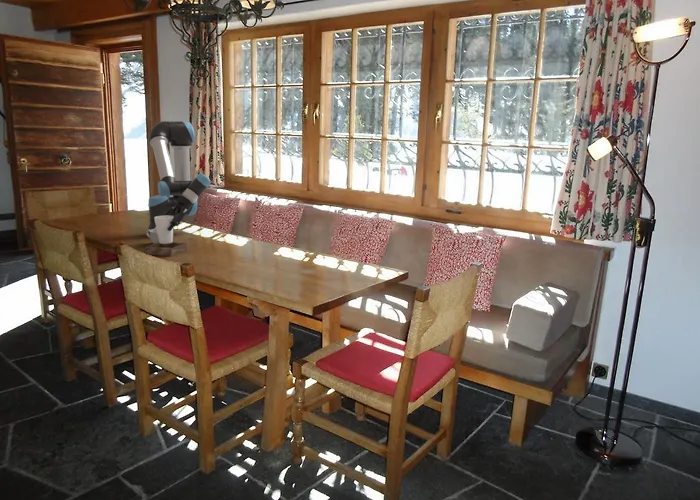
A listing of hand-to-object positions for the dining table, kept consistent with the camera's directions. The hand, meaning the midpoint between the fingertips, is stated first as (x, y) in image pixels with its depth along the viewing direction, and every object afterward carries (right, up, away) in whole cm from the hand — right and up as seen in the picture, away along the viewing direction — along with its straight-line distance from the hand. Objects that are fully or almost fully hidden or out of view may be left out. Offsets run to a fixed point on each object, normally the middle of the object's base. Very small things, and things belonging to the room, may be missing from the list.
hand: (159, 233), depth 269 cm
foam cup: (+2, -5, +3) cm, 6 cm away
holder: (+2, -9, +5) cm, 10 cm away
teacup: (-8, -5, +22) cm, 24 cm away
